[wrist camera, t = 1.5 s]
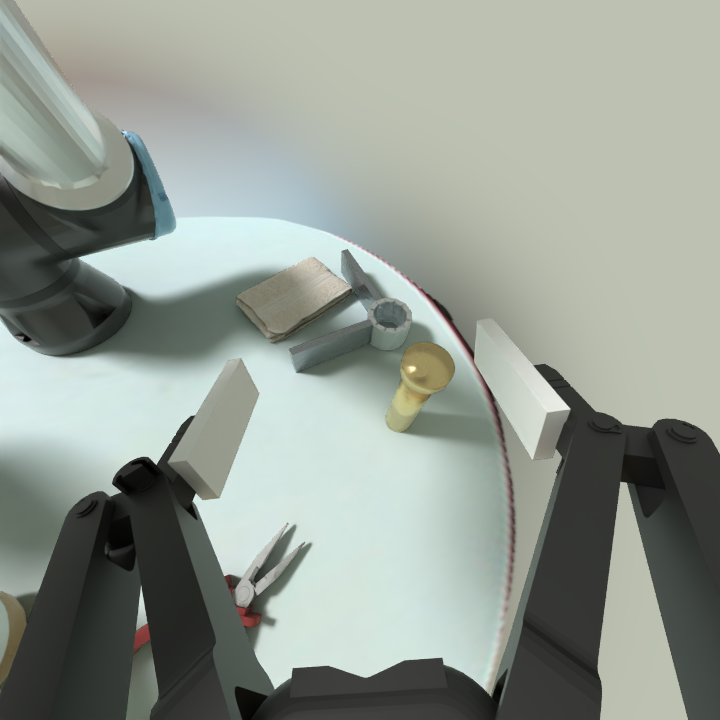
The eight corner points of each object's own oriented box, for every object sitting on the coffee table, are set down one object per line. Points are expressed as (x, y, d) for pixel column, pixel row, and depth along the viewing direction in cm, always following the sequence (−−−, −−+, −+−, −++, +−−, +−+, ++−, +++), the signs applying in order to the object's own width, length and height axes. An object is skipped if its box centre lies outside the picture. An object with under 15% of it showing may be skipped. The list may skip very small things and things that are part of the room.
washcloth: (234, 307, 50) (228, 294, 47) (313, 262, 57) (312, 249, 55) (274, 350, 46) (270, 339, 44) (354, 295, 53) (355, 283, 51)
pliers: (333, 570, 32) (332, 573, 30) (166, 799, 24) (147, 827, 21) (265, 497, 36) (260, 494, 33) (98, 674, 27) (76, 687, 25)
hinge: (261, 297, 51) (254, 275, 47) (359, 266, 57) (361, 245, 52) (303, 387, 43) (299, 371, 38) (413, 341, 48) (420, 323, 44)
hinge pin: (374, 412, 41) (392, 352, 27) (403, 398, 43) (435, 335, 29) (391, 443, 39) (421, 396, 25) (421, 427, 41) (465, 374, 27)
